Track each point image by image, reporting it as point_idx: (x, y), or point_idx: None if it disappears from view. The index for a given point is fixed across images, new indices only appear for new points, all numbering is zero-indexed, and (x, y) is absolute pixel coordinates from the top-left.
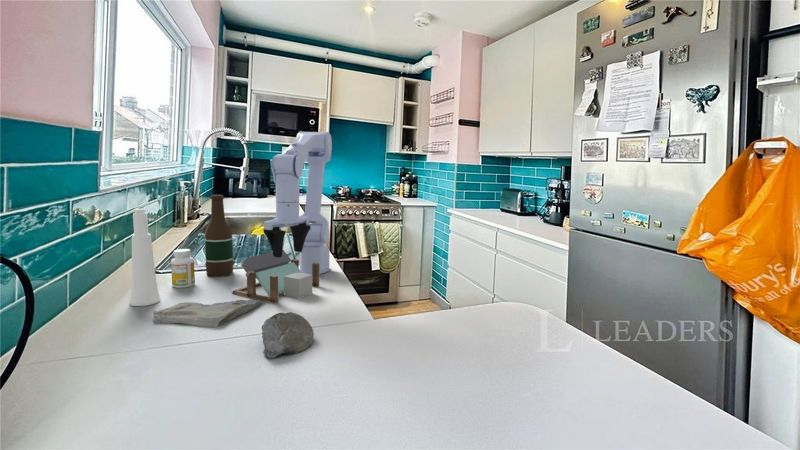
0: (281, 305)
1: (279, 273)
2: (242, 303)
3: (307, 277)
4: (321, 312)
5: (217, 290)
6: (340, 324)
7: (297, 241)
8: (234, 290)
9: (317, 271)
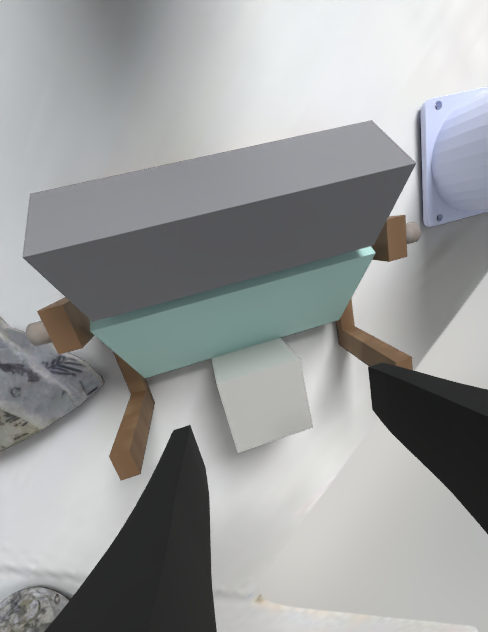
0: None
1: (237, 314)
2: (6, 416)
3: (283, 434)
4: None
5: (5, 82)
6: None
7: (432, 434)
8: None
9: None
